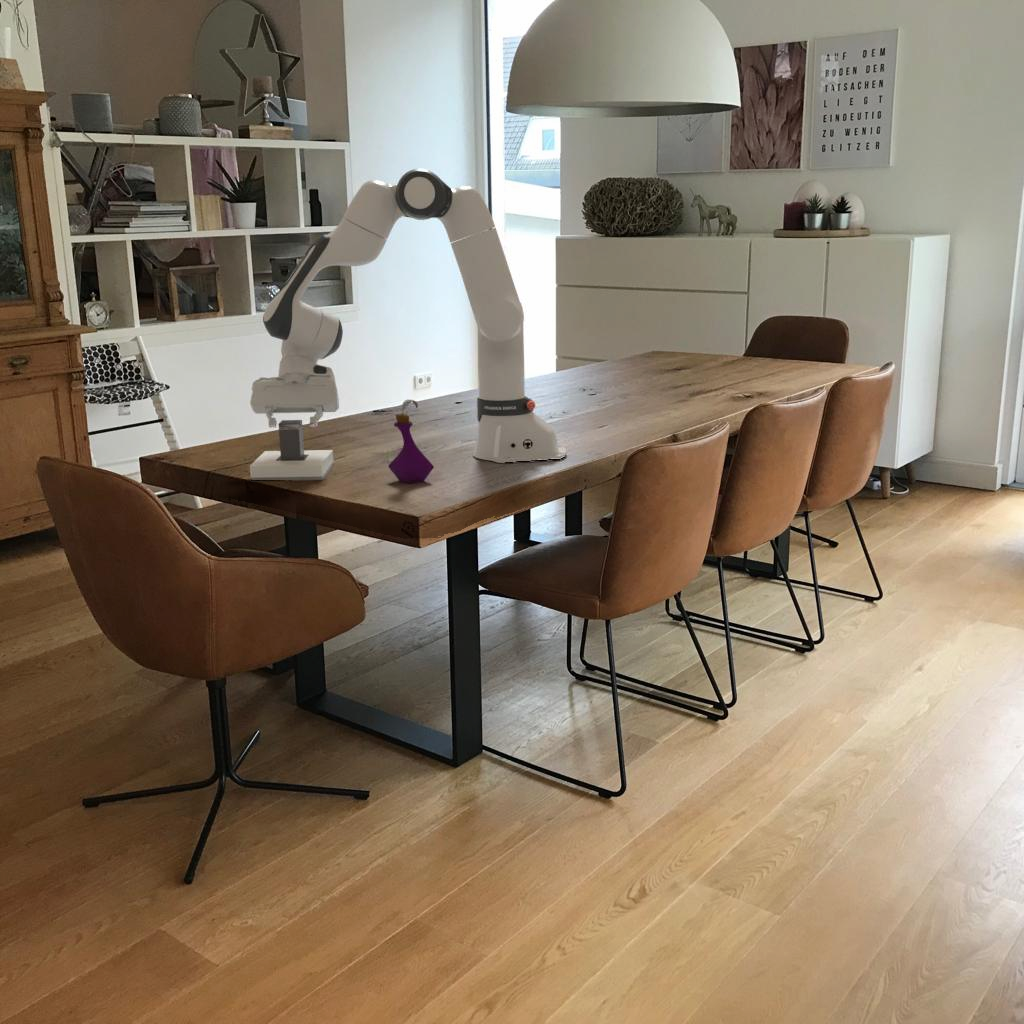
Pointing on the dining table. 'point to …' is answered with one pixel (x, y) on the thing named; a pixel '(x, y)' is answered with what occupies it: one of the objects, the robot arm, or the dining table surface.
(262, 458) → the socket block
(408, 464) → the perfume bottle
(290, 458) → the plug
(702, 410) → the dining table surface
